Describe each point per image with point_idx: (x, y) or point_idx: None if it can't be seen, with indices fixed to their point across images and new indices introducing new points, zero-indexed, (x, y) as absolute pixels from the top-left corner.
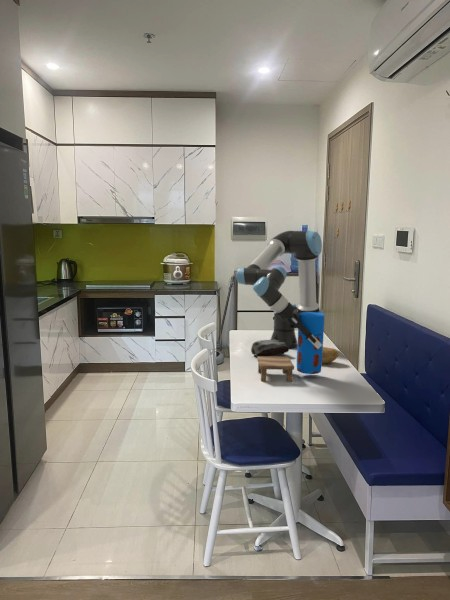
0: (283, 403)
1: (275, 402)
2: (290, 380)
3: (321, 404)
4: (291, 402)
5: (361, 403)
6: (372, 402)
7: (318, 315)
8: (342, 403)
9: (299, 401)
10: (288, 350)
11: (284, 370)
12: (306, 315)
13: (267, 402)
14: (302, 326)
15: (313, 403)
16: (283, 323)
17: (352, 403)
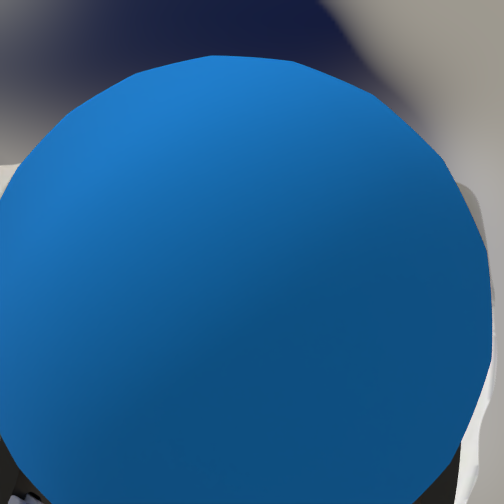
0: (478, 450)
1: (468, 469)
2: None
3: (496, 348)
4: (477, 430)
5: (483, 233)
6: (472, 201)
7: (344, 164)
8: (490, 286)
9: (476, 408)
10: None
11: None
12: (343, 499)
13: (463, 487)
14: (449, 487)
15: (490, 370)
16: None
17: (487, 257)
